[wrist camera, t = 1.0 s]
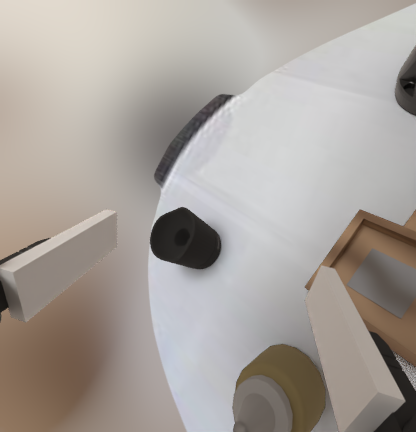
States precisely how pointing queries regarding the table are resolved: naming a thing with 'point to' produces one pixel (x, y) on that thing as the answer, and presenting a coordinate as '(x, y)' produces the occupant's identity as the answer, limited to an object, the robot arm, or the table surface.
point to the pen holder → (184, 239)
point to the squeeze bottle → (278, 393)
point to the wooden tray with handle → (380, 277)
